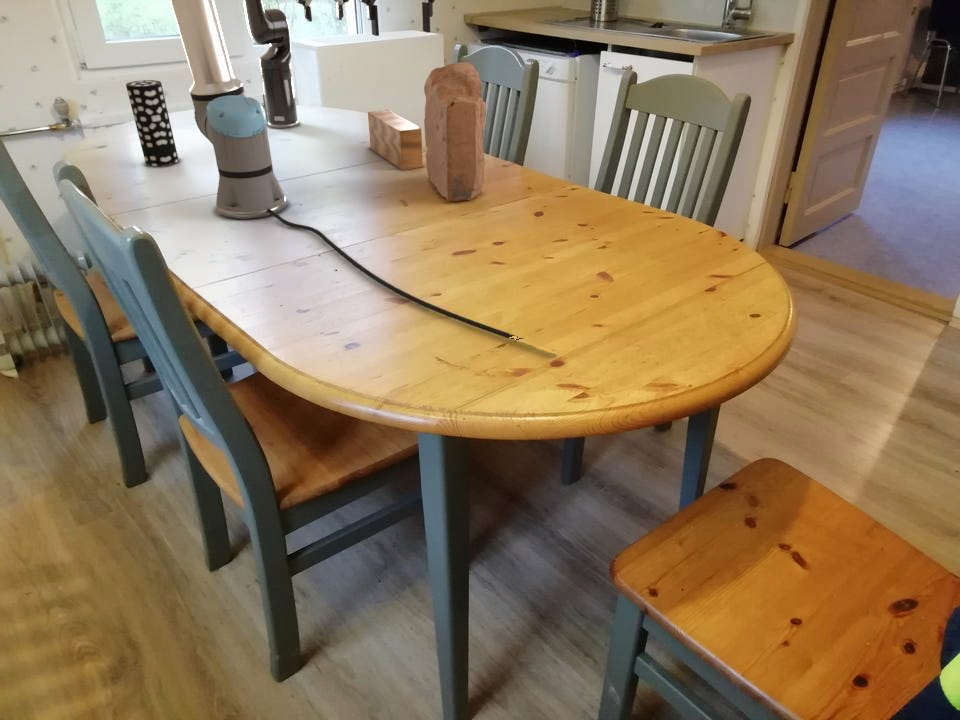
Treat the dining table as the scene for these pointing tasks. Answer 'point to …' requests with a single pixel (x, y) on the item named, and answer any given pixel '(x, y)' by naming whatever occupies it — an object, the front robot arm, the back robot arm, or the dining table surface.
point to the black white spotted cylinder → (152, 122)
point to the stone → (455, 131)
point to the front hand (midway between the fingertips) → (401, 33)
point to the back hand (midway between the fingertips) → (324, 20)
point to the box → (395, 139)
